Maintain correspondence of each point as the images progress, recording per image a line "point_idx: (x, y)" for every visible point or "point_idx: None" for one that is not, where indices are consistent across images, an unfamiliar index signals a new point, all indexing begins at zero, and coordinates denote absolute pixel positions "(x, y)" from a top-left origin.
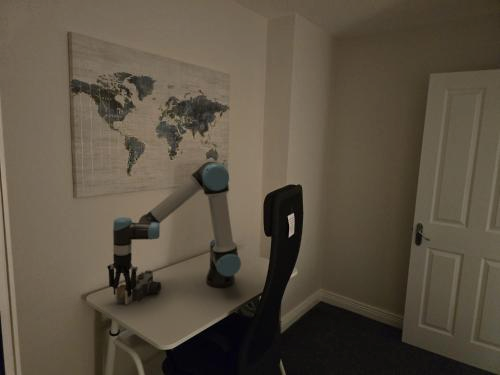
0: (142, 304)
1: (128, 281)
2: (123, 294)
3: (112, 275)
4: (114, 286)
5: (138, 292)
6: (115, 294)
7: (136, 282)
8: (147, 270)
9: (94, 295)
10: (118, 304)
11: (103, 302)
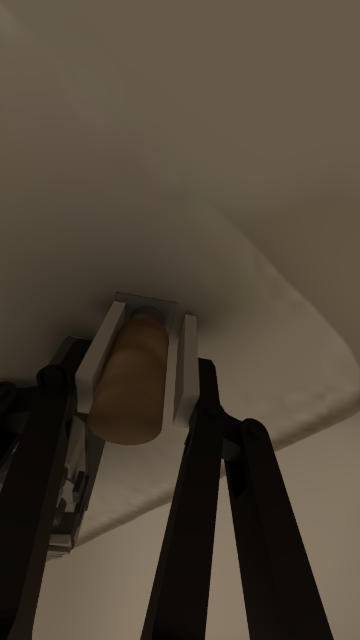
0: (19, 306)
1: (10, 486)
2: (120, 349)
3: (262, 592)
4: (209, 420)
5: (37, 383)
6: (194, 355)
7: (8, 469)
8: (57, 556)
9: (333, 386)
10: (170, 302)
11: (272, 324)
